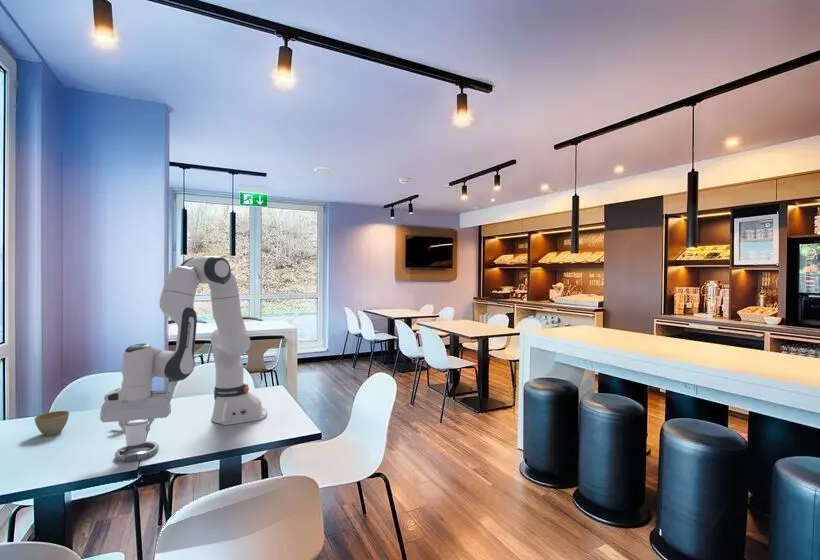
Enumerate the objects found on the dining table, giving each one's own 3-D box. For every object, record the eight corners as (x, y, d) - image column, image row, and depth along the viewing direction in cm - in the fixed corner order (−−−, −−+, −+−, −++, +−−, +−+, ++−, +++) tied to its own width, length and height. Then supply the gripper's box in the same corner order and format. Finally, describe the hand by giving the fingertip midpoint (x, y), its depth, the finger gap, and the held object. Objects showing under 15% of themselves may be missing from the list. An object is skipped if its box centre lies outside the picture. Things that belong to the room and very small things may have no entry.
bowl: (162, 444, 144) (162, 440, 144) (152, 459, 133) (152, 454, 133) (123, 449, 140) (123, 444, 140) (109, 464, 129) (109, 458, 129)
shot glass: (131, 438, 139) (131, 418, 139) (152, 437, 140) (152, 418, 140) (119, 446, 133) (119, 425, 133) (141, 446, 133) (141, 425, 133)
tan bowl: (68, 426, 160) (68, 408, 160) (70, 433, 153) (70, 415, 153) (34, 433, 154) (34, 414, 153) (34, 440, 146) (34, 421, 146)
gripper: (173, 387, 143) (173, 425, 143) (106, 391, 136) (105, 431, 136) (169, 392, 137) (168, 432, 137) (98, 396, 130) (97, 438, 130)
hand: (136, 432), depth 136 cm, fingers closed on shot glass, 5 cm apart
